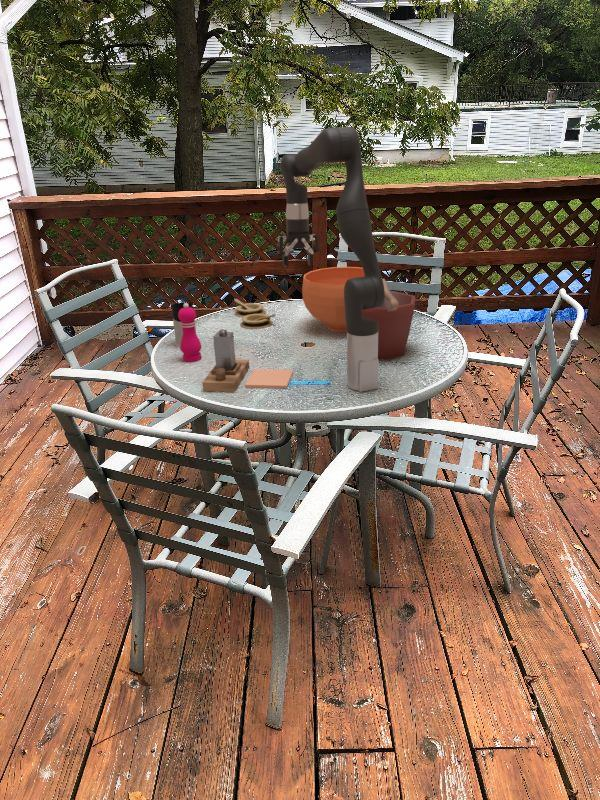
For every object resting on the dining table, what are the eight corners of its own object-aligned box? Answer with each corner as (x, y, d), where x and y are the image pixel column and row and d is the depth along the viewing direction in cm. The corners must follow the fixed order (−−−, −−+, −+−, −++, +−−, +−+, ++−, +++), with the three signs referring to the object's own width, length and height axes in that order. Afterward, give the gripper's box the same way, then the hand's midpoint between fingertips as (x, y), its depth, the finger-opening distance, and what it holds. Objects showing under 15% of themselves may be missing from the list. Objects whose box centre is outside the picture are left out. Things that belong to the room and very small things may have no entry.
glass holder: (194, 338, 240) (189, 300, 234) (207, 349, 228) (202, 309, 222) (171, 343, 236) (166, 304, 230) (184, 354, 225) (179, 313, 218)
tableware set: (225, 313, 273) (224, 299, 270) (270, 308, 277) (269, 295, 274) (235, 333, 246) (234, 318, 244) (284, 327, 250) (283, 313, 248)
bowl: (360, 312, 263) (360, 263, 254) (395, 332, 237) (396, 278, 228) (292, 322, 253) (290, 272, 245) (321, 344, 227) (320, 289, 219)
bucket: (411, 365, 205) (413, 290, 195) (343, 363, 210) (343, 289, 200) (414, 341, 227) (416, 272, 217) (353, 339, 232) (352, 271, 221)
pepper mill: (191, 354, 224) (184, 299, 216) (206, 357, 221) (200, 301, 212) (177, 360, 218) (170, 304, 210) (193, 363, 215) (186, 307, 207)
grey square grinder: (220, 367, 202) (217, 328, 197) (236, 367, 202) (232, 328, 196) (216, 373, 198) (212, 333, 192) (232, 373, 197) (228, 333, 192)
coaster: (254, 372, 206) (254, 369, 205) (293, 372, 204) (293, 369, 203) (245, 387, 194) (245, 384, 194) (286, 388, 192) (286, 385, 192)
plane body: (220, 367, 211) (218, 350, 208) (249, 368, 209) (248, 351, 207) (203, 391, 193) (201, 373, 190) (235, 392, 191) (233, 373, 189)
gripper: (280, 219, 207) (282, 269, 212) (321, 217, 211) (321, 266, 217) (273, 217, 213) (275, 266, 219) (313, 215, 218) (313, 263, 223)
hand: (298, 266), depth 218 cm, fingers open, 8 cm apart
